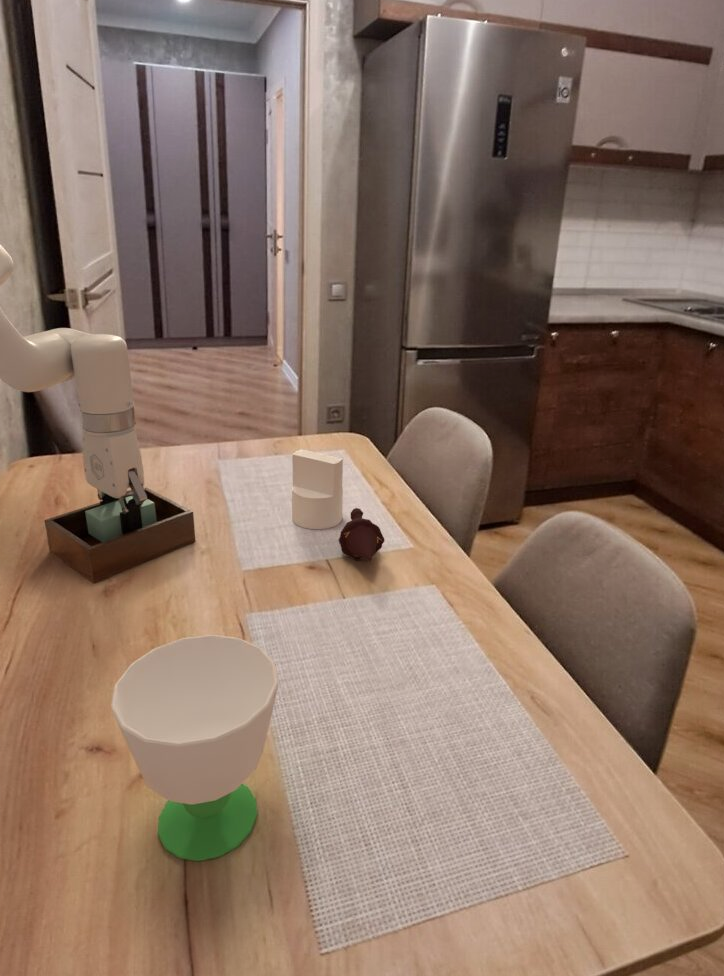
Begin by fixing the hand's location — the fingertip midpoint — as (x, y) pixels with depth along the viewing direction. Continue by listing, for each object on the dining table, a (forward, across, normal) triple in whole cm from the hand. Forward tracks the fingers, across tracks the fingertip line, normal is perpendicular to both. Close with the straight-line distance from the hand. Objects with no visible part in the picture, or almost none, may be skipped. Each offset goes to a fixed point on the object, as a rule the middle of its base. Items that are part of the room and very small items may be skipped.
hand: (122, 525), depth 107 cm
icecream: (+4, +30, +24) cm, 38 cm away
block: (+1, 0, 0) cm, 1 cm away
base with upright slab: (+4, +15, +29) cm, 33 cm away
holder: (+4, 0, 0) cm, 4 cm away
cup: (+4, +52, -22) cm, 56 cm away
